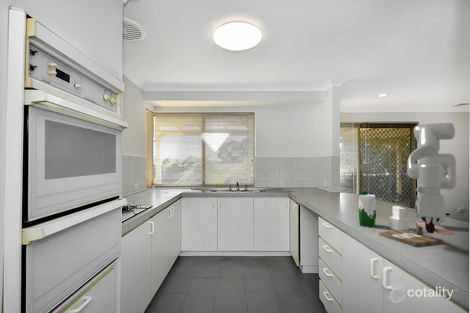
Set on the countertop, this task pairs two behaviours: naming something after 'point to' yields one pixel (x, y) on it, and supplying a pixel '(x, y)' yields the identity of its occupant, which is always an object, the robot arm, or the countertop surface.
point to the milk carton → (367, 209)
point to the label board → (411, 237)
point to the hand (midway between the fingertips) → (429, 232)
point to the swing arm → (437, 229)
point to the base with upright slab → (398, 219)
